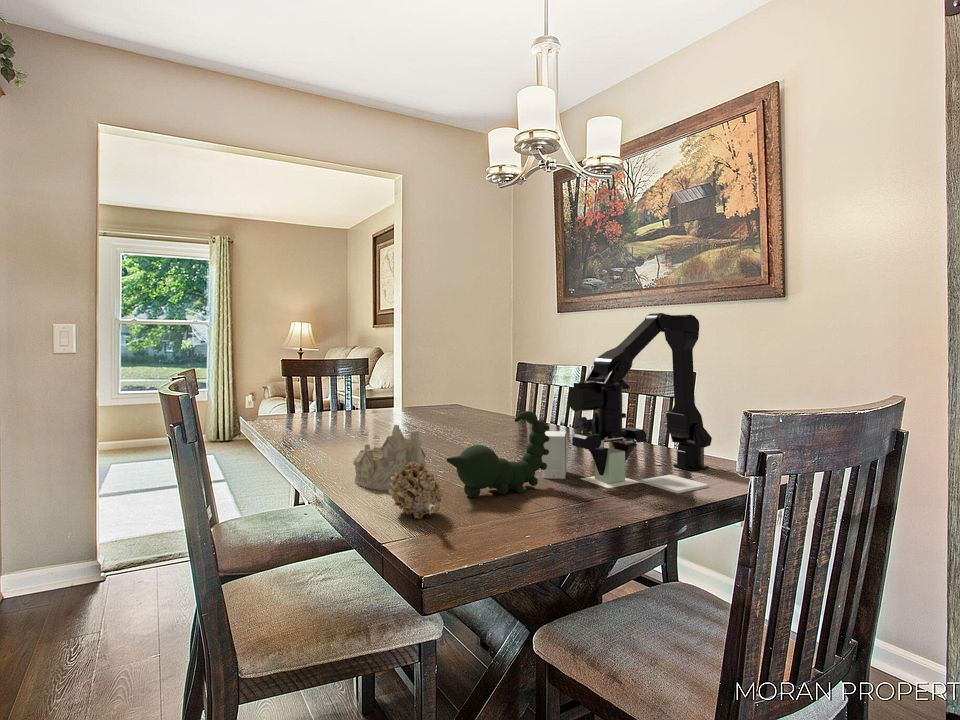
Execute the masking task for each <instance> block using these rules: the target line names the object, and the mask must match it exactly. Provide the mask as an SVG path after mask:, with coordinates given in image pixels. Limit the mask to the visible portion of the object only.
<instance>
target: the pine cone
mask: <svg viewBox="0 0 960 720" xmlns="http://www.w3.org/2000/svg"><path fill="white" fill-rule="evenodd" d="M425 465H426V464H425ZM425 465H424V464H423V463H421V465H420V466H419V464H418V463H417V464H416V462H412V461H411V462H409V463H408V465H407V467H406V466H405V465H404V468H403V469H402V470H401V472H399V473H396V472H395V477H391V481H392V483H390V485H391V486H392V488H391V489H390V490H387V492H388V493H389V494H390V496H391V497H390V498H391V499H392V500H393V501H394V506H396V507H399V509H400V510H402V512H403V513H405V514H406V515H407V516H408V515H412V514H413V517H414V519H418V520H419V519H420V520H421V519H422V518H423V517H424V516H425V515H426V514H428V515H430V516H431V515H432V514H437V513H438V512H439V511H440V508H441V507H440V506H441V504H440V503H441V502H442V499H441V498H443V496H444V495H443V494H442V493H440V492H439V491H440V489H441V486H440V485H439V484H440V480H438V481H437V479H436V478H435V477H436V476H435V475H436V474H435V473H434V472H431V470H430V469H429V468H428V467H427V466H426V467H425Z"/></svg>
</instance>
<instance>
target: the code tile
mask: <svg viewBox="0 0 960 720" xmlns="http://www.w3.org/2000/svg"><path fill="white" fill-rule="evenodd" d="M579 480H583V481H586V482H589V483H592V484H595V485H597V486H600V487H604V488H606V489H611V488H617V487H623V486H628V485H634V484H638V483H641V481H638V480H634V479H631V478H629V477H628V478H627V477H625V481H620V482H614V483H606V482H603V481H600V480H597V479H595V475H593V476H588V477H581V478H579Z"/></svg>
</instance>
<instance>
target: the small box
mask: <svg viewBox="0 0 960 720" xmlns="http://www.w3.org/2000/svg"><path fill="white" fill-rule="evenodd" d="M567 433H568V432H567V431H564V430H563V431H562V430H561V431H560V430H558V431H557V430H548V431H546V432H545V434H546V436H548V437H549V441H548V442H545V443H544V448H545V449H548V450H549V454H548V455H543V456H542V462H544V463H546V464H547V468H546V470H542V479H551V480H553V479H555V480H556V479H557V480H566V476H567V471H568V470H567V445H568V444H567V443H568V442H567Z"/></svg>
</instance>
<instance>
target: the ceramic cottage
mask: <svg viewBox="0 0 960 720" xmlns="http://www.w3.org/2000/svg"><path fill="white" fill-rule="evenodd" d="M426 457H427V454H426V453H425V452H424V449H423V447H422V442H421V440H420V434H419V430H417V429H411V431H410V438H407V437H405V436H404V433H403V432H402V429H400V425H399V424H394V425H393V428H392V431H391V435H387V437H386V438H385V441H384V442H383V444H382V445H381V446H379V447H377V446H373V448H372V449H371V444H369V443H365V444H364V449H360V451H359V452H358V454H357V456H356V457H355V459H354V460H353V462H352V464H353V466H355V467H354V468H355V477H354V482H355V483H354V484H356V485H358V484H359V485H358V486H360V485H361V486H363V488H365V487H366V488H365V489H371V490H372V489H373V490H376V489H377V490H378V491H389V490H390V489H391V488H392V486H391V485H390V483H392V481H391V477H395V472H396V473H399V472H401V470H402V469H403V468H404V465H405V466H406V467H407V465H408V463H409V462H411V461H412V462H416V464H417V463H418V464H419V466H420V465H421V463H423V464H424V465H425V467H426V468H427V466H426V464H427V462H426V461H425V459H426Z"/></svg>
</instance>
